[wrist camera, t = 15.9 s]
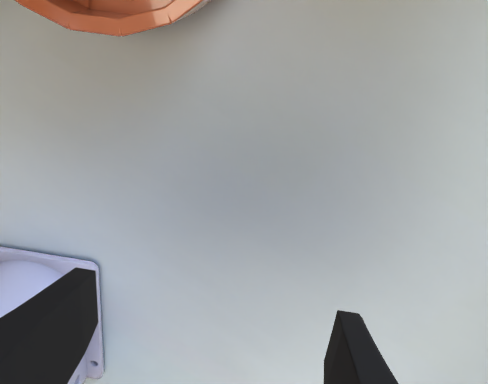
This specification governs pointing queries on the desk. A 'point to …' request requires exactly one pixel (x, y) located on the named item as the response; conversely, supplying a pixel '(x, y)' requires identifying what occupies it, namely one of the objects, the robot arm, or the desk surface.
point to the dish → (114, 14)
